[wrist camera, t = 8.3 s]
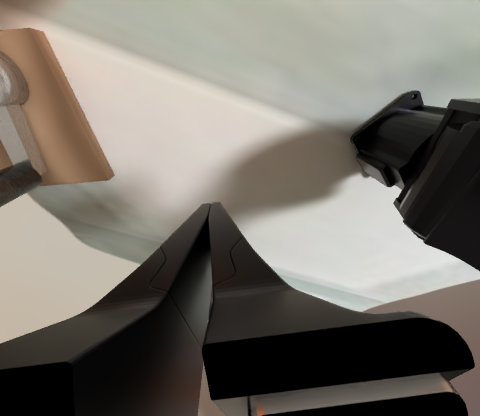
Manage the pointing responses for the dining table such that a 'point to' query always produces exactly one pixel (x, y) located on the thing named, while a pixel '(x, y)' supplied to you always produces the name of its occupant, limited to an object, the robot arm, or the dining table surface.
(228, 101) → the dining table surface
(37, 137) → the base
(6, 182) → the lever
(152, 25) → the dining table surface
